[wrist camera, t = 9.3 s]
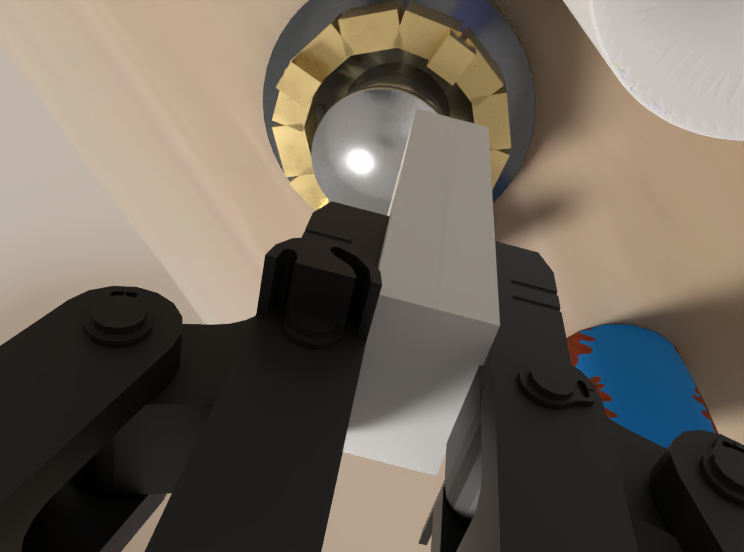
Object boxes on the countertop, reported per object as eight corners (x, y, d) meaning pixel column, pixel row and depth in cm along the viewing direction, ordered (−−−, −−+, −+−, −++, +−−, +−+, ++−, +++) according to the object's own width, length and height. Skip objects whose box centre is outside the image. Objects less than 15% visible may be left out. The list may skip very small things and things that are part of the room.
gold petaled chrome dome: (262, 24, 36) (237, 42, 32) (496, -19, 33) (499, -4, 29) (336, 307, 45) (324, 347, 42) (522, 292, 43) (526, 333, 39)
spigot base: (288, -68, 35) (241, -52, 28) (575, 4, 35) (600, 38, 28) (255, 201, 44) (214, 263, 37) (483, 258, 44) (485, 331, 37)
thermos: (710, 403, 48) (896, 820, 27) (574, 449, 52) (644, 840, 31) (651, 298, 44) (817, 692, 23) (510, 357, 48) (539, 735, 27)
